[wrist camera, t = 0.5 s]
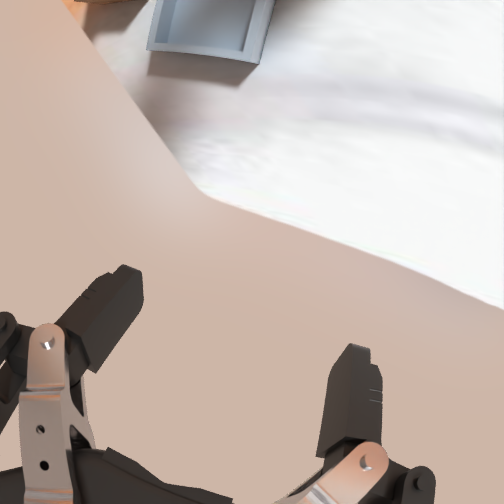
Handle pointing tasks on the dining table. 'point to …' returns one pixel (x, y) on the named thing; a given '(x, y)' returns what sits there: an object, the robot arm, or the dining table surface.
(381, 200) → the dining table surface
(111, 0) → the block
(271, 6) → the tray
